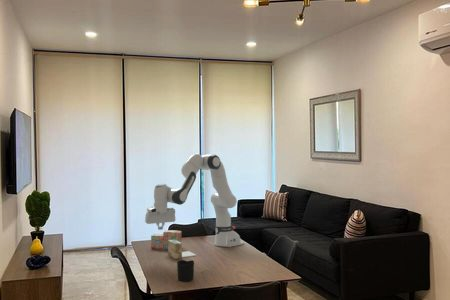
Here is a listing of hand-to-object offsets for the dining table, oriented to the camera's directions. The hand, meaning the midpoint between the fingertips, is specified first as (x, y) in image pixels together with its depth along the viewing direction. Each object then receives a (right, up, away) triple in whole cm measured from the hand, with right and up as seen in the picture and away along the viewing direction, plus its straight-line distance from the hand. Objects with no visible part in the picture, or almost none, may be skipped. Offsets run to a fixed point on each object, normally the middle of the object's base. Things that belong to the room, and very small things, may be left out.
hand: (160, 229), depth 287 cm
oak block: (+9, -19, +5) cm, 22 cm away
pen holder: (+21, -20, -45) cm, 54 cm away
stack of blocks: (0, -19, +30) cm, 36 cm away
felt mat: (+16, -19, +9) cm, 26 cm away
